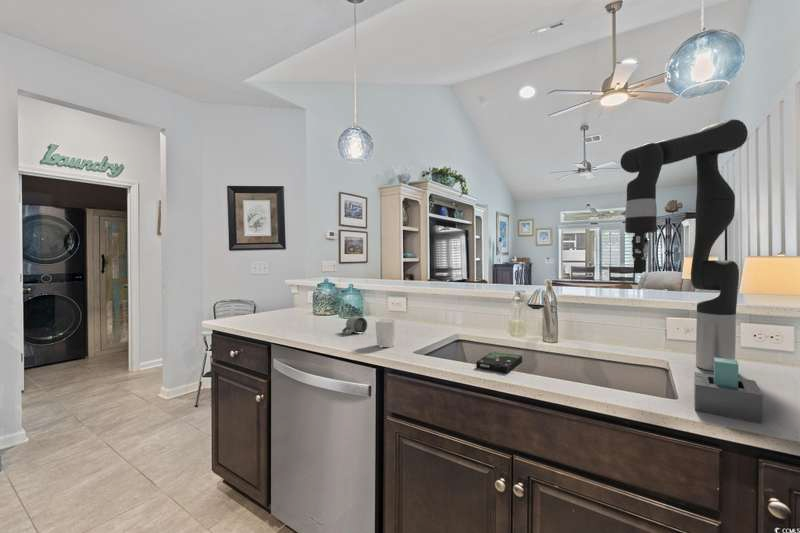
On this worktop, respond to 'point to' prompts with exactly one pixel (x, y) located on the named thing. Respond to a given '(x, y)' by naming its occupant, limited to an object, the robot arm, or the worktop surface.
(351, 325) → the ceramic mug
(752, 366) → the worktop surface
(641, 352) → the worktop surface
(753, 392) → the socket block
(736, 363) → the teal peg
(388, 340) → the white cup
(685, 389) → the worktop surface
